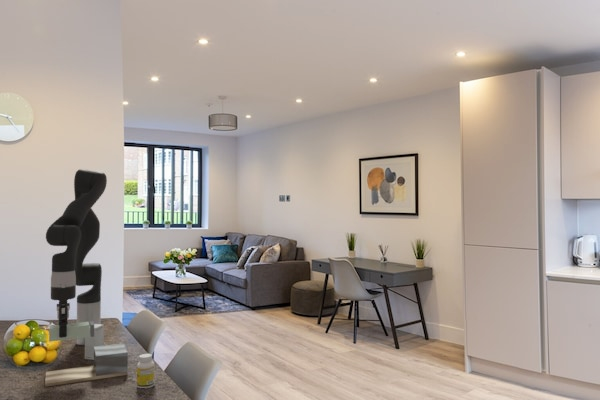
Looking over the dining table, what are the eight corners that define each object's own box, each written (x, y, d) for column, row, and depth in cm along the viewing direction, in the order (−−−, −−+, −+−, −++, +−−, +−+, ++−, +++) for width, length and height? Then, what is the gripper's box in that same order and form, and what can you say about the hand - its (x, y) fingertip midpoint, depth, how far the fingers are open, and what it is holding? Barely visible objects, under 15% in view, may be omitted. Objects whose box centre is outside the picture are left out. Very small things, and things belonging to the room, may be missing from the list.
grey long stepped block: (45, 374, 163) (46, 352, 163) (123, 364, 174) (123, 343, 174) (44, 386, 152) (45, 362, 152) (127, 374, 164) (127, 352, 164)
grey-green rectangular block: (49, 337, 161) (49, 325, 161) (93, 332, 167) (93, 321, 167) (49, 341, 156) (49, 329, 156) (94, 336, 162) (94, 324, 162)
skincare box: (94, 360, 179) (94, 328, 179) (84, 359, 179) (84, 327, 179) (104, 355, 184) (104, 324, 185) (94, 354, 185) (94, 323, 185)
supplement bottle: (139, 382, 156) (139, 352, 156) (156, 382, 157) (156, 352, 157) (134, 389, 151) (135, 358, 151) (152, 388, 151) (152, 357, 151)
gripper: (51, 282, 165) (50, 331, 165) (50, 288, 152) (49, 341, 152) (75, 280, 168) (74, 328, 168) (76, 286, 156) (75, 338, 155)
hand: (62, 334), depth 160 cm, fingers closed on grey-green rectangular block, 5 cm apart
